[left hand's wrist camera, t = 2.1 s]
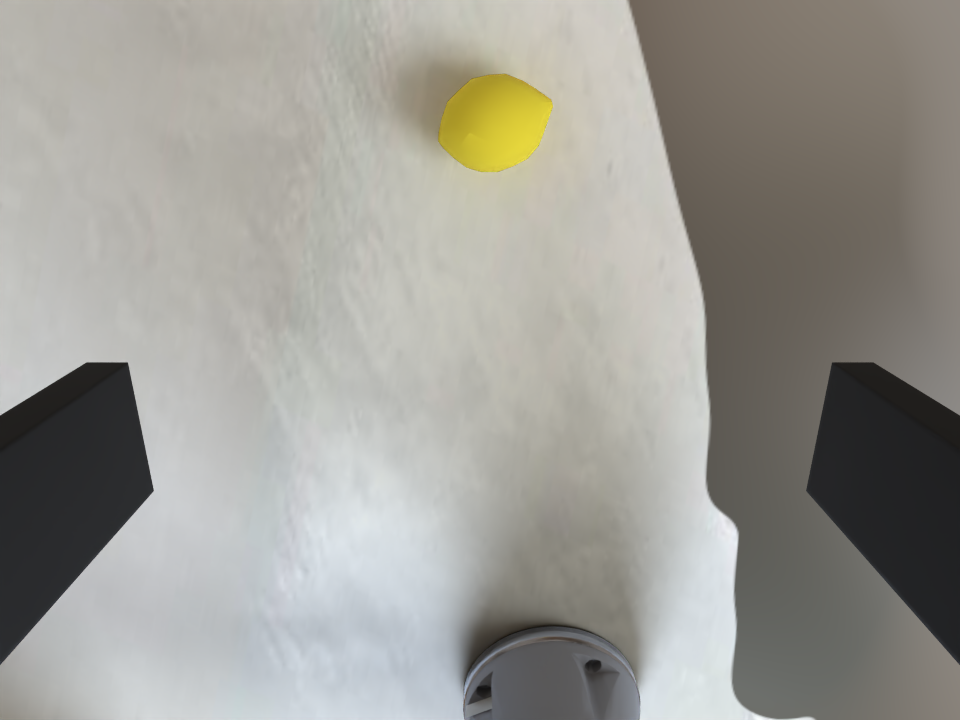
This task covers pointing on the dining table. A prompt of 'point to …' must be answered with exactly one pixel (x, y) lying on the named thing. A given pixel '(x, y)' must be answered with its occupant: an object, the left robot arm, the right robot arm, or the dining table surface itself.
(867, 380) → the left robot arm
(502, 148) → the lemon
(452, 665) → the dining table surface
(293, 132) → the dining table surface
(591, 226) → the dining table surface
